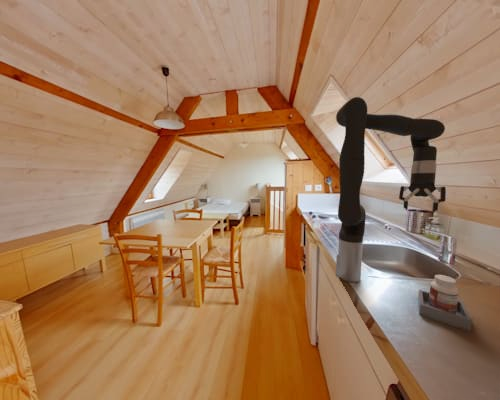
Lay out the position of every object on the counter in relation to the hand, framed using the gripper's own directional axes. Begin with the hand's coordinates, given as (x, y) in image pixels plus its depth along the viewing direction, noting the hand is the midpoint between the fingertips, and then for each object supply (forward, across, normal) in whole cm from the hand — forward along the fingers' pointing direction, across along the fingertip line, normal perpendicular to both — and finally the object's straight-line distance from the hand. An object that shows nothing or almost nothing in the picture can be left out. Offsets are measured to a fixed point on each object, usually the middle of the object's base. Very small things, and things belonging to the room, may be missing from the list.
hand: (419, 210), depth 78 cm
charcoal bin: (+30, +6, -24) cm, 39 cm away
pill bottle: (+30, +6, -23) cm, 38 cm away
